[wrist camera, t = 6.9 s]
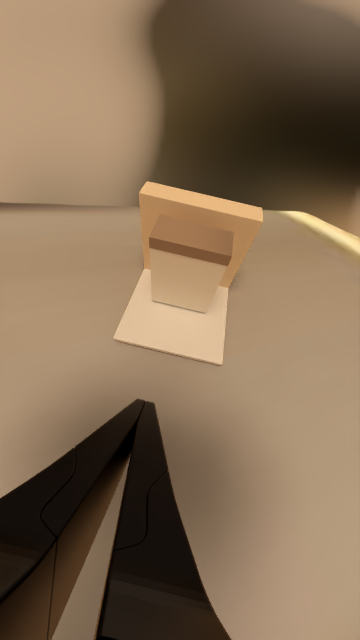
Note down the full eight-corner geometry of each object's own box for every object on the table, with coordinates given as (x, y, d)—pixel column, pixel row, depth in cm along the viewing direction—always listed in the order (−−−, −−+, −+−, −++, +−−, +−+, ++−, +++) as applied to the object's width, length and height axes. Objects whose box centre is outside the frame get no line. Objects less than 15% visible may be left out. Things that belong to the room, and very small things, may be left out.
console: (220, 365, 23) (271, 319, 13) (114, 340, 23) (81, 274, 13) (228, 277, 31) (262, 207, 21) (150, 259, 31) (147, 180, 21)
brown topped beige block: (206, 313, 25) (232, 256, 17) (151, 300, 25) (148, 236, 17) (209, 292, 27) (233, 231, 19) (158, 279, 27) (160, 214, 19)
